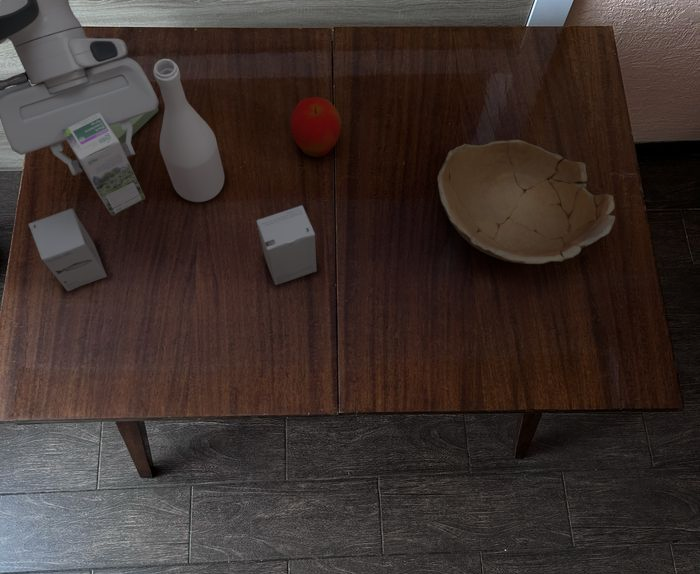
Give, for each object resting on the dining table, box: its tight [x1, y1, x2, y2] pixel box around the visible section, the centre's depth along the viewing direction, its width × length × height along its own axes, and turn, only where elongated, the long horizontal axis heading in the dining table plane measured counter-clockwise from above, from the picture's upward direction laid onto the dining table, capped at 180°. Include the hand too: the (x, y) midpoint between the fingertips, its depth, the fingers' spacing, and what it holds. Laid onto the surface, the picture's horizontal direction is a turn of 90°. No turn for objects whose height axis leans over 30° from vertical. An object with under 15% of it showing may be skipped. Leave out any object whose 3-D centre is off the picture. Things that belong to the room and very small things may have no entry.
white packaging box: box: [27, 208, 108, 292], centre depth 116 cm, size 7×7×13 cm
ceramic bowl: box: [436, 139, 616, 265], centre depth 123 cm, size 30×27×15 cm
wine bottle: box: [152, 58, 225, 203], centre depth 115 cm, size 10×10×30 cm
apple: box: [290, 96, 342, 158], centre depth 127 cm, size 9×9×12 cm
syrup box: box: [62, 113, 146, 216], centre depth 98 cm, size 6×6×14 cm
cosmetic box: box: [256, 205, 318, 286], centre depth 117 cm, size 8×6×15 cm
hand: (104, 164), depth 96 cm, fingers closed on syrup box, 6 cm apart
